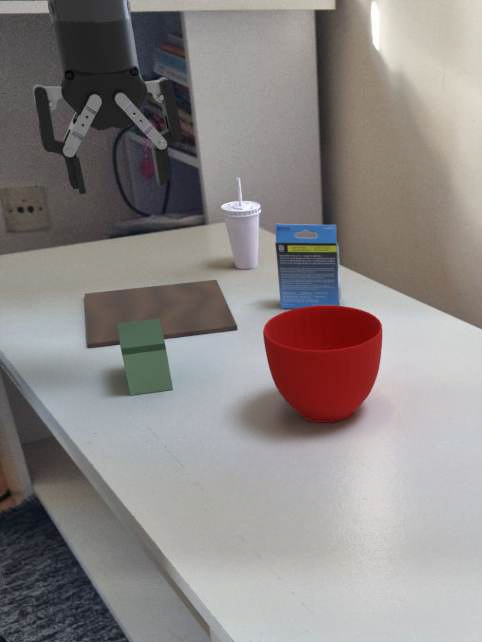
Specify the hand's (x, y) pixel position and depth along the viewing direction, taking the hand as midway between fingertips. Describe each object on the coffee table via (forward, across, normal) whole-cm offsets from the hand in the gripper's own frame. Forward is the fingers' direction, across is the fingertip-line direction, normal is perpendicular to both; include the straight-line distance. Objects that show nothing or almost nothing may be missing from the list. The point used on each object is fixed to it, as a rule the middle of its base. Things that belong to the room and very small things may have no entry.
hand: (122, 188), depth 88 cm
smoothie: (+22, -22, -36) cm, 47 cm away
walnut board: (+22, -4, -20) cm, 30 cm away
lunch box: (+22, +1, +1) cm, 22 cm away
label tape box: (+22, -26, -14) cm, 37 cm away
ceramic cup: (+22, -18, +16) cm, 33 cm away
